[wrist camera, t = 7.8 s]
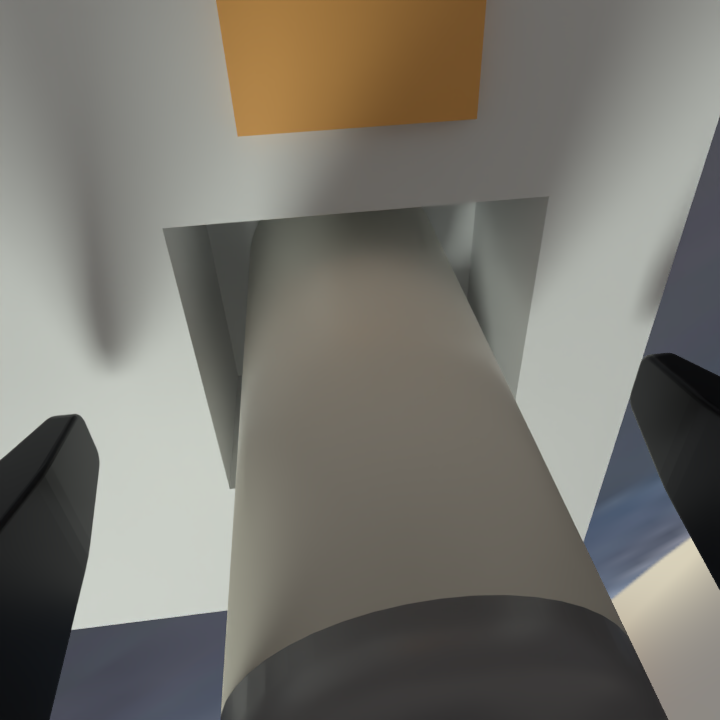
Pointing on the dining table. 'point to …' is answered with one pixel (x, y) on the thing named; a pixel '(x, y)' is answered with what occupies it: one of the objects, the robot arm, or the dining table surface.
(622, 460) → the dining table surface
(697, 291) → the dining table surface
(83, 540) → the robot arm
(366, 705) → the plug
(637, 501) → the dining table surface
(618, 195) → the port box
